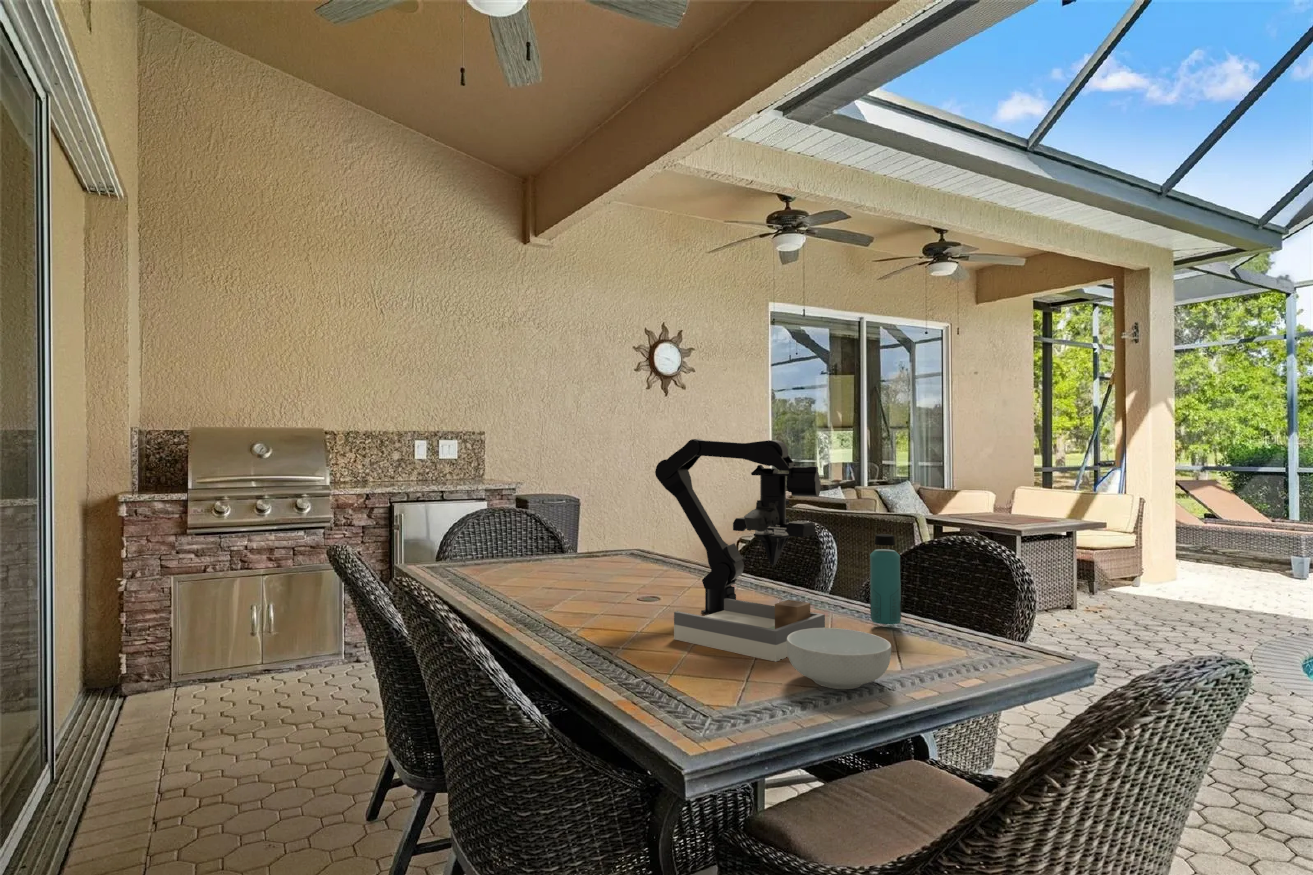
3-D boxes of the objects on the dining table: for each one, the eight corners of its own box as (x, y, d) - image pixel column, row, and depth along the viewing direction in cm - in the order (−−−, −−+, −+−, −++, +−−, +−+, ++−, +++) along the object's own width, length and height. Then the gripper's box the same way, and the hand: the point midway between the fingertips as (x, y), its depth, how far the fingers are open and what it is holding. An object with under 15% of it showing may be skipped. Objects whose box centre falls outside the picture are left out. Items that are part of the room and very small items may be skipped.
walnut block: (774, 629, 150) (774, 603, 150) (788, 624, 154) (788, 599, 154) (797, 633, 147) (796, 607, 147) (810, 628, 151) (810, 603, 151)
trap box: (674, 639, 154) (674, 611, 154) (726, 623, 168) (726, 598, 168) (775, 661, 139) (775, 631, 139) (824, 642, 152) (824, 614, 152)
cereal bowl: (815, 703, 117) (815, 656, 117) (770, 671, 133) (770, 630, 133) (912, 693, 121) (912, 648, 121) (857, 664, 137) (857, 624, 137)
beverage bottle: (905, 631, 161) (905, 536, 161) (873, 631, 161) (873, 536, 161) (896, 624, 167) (896, 532, 167) (865, 624, 167) (865, 532, 167)
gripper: (718, 495, 173) (718, 564, 173) (789, 499, 161) (789, 574, 161) (746, 493, 181) (746, 559, 181) (816, 497, 169) (816, 567, 169)
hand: (773, 564), depth 173 cm, fingers closed
